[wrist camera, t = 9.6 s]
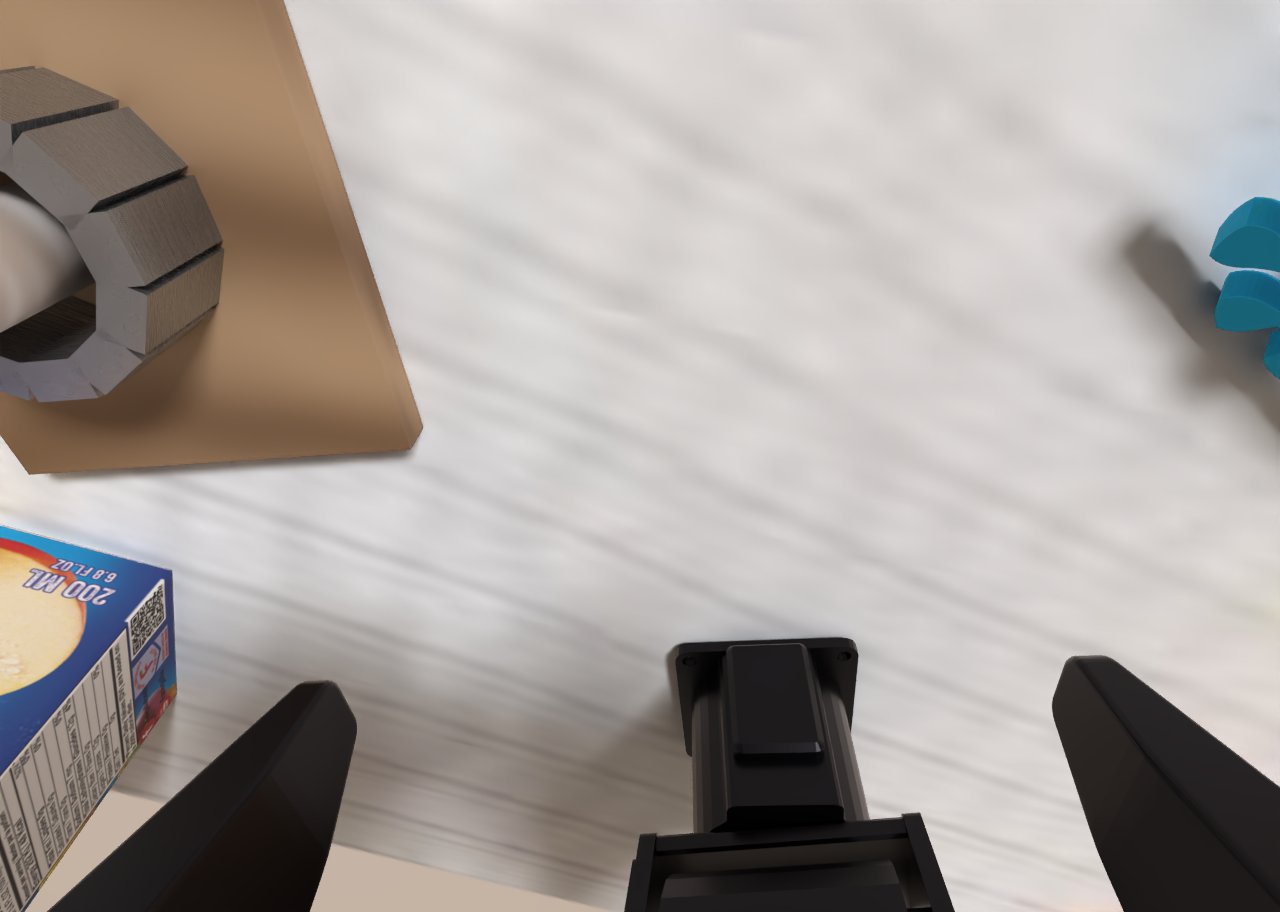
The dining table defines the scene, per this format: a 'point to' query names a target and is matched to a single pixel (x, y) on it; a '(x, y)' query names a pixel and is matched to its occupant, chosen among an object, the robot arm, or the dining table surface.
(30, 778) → the juice carton
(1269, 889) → the robot arm
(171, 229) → the hub ring
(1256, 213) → the gear
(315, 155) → the shaft stand
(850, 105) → the dining table surface
